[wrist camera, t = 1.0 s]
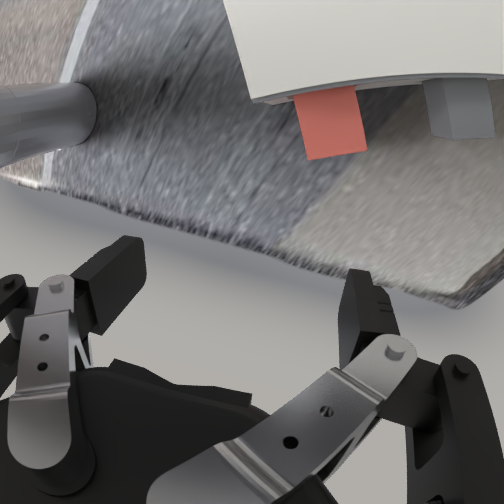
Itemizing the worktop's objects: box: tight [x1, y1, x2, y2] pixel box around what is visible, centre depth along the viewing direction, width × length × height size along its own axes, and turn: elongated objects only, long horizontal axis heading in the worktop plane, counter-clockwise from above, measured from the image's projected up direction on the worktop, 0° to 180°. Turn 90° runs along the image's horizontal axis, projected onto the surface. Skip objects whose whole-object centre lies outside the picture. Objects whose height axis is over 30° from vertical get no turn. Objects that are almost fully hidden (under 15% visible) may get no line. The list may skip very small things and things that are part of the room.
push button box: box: [223, 0, 504, 105], centre depth 21 cm, size 23×8×16 cm, turn 104°
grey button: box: [422, 78, 496, 140], centre depth 22 cm, size 5×6×5 cm
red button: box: [293, 85, 368, 160], centre depth 25 cm, size 5×6×5 cm
